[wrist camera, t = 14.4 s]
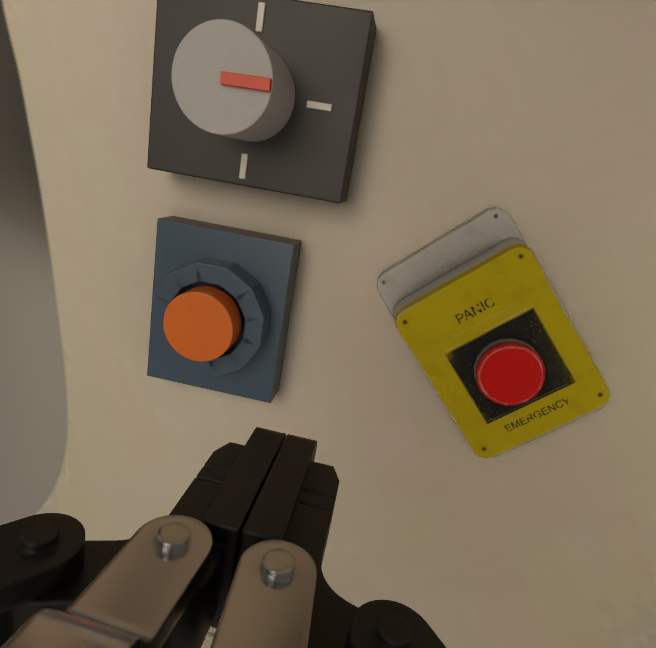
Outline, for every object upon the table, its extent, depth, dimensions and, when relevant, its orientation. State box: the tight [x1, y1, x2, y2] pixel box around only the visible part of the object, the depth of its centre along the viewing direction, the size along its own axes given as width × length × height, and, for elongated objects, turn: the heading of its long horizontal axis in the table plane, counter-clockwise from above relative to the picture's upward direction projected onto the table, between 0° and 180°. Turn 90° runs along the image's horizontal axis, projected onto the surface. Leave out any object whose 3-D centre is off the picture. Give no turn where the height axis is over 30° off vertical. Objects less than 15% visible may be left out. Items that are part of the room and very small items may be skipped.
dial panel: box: [147, 0, 376, 203], centre depth 30 cm, size 10×12×3 cm
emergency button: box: [377, 208, 610, 458], centre depth 32 cm, size 9×4×15 cm
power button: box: [163, 286, 241, 362], centre depth 31 cm, size 4×4×2 cm
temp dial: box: [172, 19, 295, 142], centre depth 26 cm, size 5×5×5 cm
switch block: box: [147, 216, 301, 403], centre depth 34 cm, size 11×9×4 cm
